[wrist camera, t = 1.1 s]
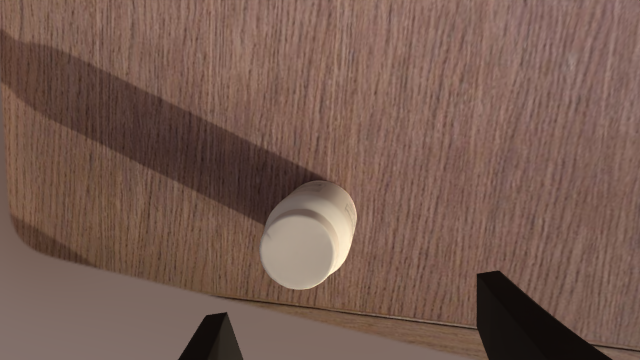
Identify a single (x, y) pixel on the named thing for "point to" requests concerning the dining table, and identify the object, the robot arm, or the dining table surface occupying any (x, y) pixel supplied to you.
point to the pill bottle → (308, 235)
